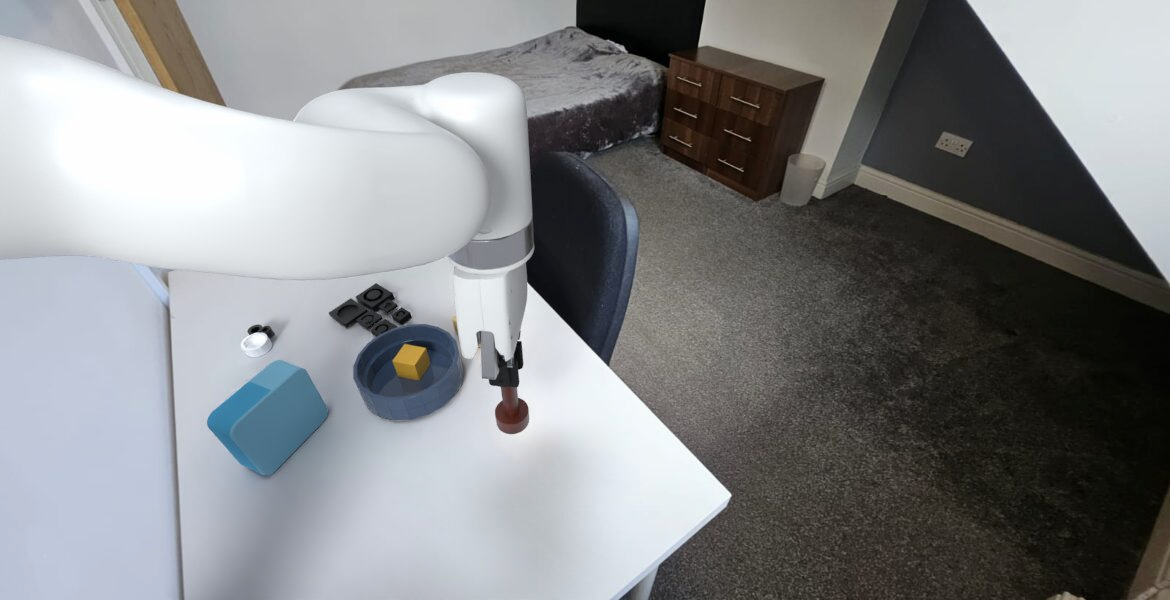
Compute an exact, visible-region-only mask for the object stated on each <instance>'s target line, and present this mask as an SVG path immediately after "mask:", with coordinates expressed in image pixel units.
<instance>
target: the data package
mask: <svg viewBox="0 0 1170 600" xmlns="http://www.w3.org/2000/svg"><path fill="white" fill-rule="evenodd" d="M309 374H310V373H308V371H307V369H305V368H303V367H300V366H298V365H295V364H293V363H290V362H288V361H286V360H282V359H277V360H274V361H271V362H270V363H269V364H268V365H267V366H265V367H264V368H263V369H262V370H260V372H258V373H257V374H256V375H254V377H252V378H251V379H250V380H249V381H247V382H246V383H245V384H244V385H242V387H239V389H238V390H236V392H234V393H233V394H231V396H229V397H228V398H226V399H225V401H223V402H222V403H221V404H219V406H216V408H215V409H214V410H213V411H211V413H210V414H209V415H208V417H207V420H206V425H207V428H208V429H209V430H210V431H211V433H212V434H213V435H214V436H215V437H216V438H217V440H218V441H219V442H220V444H222V445H223V446H224V447H225V449H227V451H228V452H229V453H230V455H232V456H233V457H234V459H235V460H236V461H237V462H238V463H239V465H241V466H243V467H245V468H247V469H249V470H252V471H254V472H255V473H258V474H260V475H262V476H270V475H272V474H274V473H275V472H276V471H277V470H278V469H280V467H281V466H282V465H284V464H285V462H286V461H287V460H288V459H289V458H290V457H291V456H292V455H293V454H294V453H295V452H296V451H297V450H298V449H299V448H300V447H301V446H302V444H303V443H305V442H306V440H308V438H309V437H311V435H313V433H314V432H315V431H316V430H317V429H318V428H319V427H320V426H321V425H322V424H323V423H324V422H325V420H326V419H327V418H328V414H329V409H328V406H327V405H326V403H325V401H324V399H323V397H322V395H321V394H320V392H319V390H318V388H317V387H316V385H315V384H314V381H313V380H312V378H311V376H310V375H309Z"/></svg>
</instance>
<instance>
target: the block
mask: <svg viewBox="0 0 1170 600" xmlns="http://www.w3.org/2000/svg"><path fill="white" fill-rule="evenodd" d="M393 364H394V367H395V369H396V372H397V375H398V377H403V378H408V379H413V380H418V381H420V380H421V378H422V376H423V375H424V373H425V372H426V370H427V368H428V367H429V365H430V360H429V356H428V353H427V350H426V348H423V347H418V346H413V345H408V344H404V345H403V347H402V348H401V350H400V351H399V352H398V354H397V355H396V357H395V358H394V359H393Z"/></svg>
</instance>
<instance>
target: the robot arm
mask: <svg viewBox="0 0 1170 600" xmlns="http://www.w3.org/2000/svg"><path fill="white" fill-rule="evenodd" d="M527 109H528V108H527V101H526V97H525V95H524V93H523V90H522V89H521V88H520V86H519V84H517V83H516V82H515V81H513V80H511V78H508V77H506V76H503V75H500V74H496V73H489V72H481V71H480V72H479V71H467V72H466V71H465V72H455V73H450V74H445V75H442V76H438V77H436V78H434V79H432V80H430V81H428V82H427V83H424V84H416V85H402V86H400V85H399V86H385V87H384V86H383V87H382V86H381V87H380V86H379V87H354V88H353V87H352V88H344V89H338V90H334V91H333V90H332V91H330V92H327V93H323V94H321V95H319V96H316V97H315V98H313V99H312V100H310V101H309V102H308V103H306V104H305V105H304V106H303V107H301V109H300V110H299V112H297V114H296V115H295V117H294V119H293V120H289V119H283V118H278V117H272V116H268V115H263V114H259V113H255V112H250V111H245V110H241V109H236V108H233V107H228V106H225V105H221V104H218V103H217V104H216V103H213V102H210V101H205V100H202V99H199V98H195V97H192V96H190V95H185V94H183V93H180V92H176V91H173V90H171V89H168V88H165V87H163V86H159V85H156V84H154V83H151V82H149V81H146V80H143V79H141V78H139V77H136V76H134V75H131V74H128V73H126V72H124V71H121V70H119V69H115V68H113V67H110V66H108V65H106V64H103V63H101V62H98V61H96V60H92V59H90V58H87V57H84V56H82V55H79V54H75V53H72V52H68V51H65V50H63V49H59V48H57V47H51V46H48V45H45V44H41V43H37V42H33V41H29V40H26V39H21V38H16V37H13V36H8V35H1V34H0V261H4V260H18V259H19V260H20V259H34V258H47V257H89V258H98V259H104V260H111V261H115V262H122V263H127V264H133V265H136V266H143V267H150V268H157V269H164V270H165V269H166V270H173V271H183V272H193V273H203V274H212V275H213V274H214V275H221V276H228V277H229V276H230V277H239V278H249V279H260V280H277V281H322V280H323V281H325V280H334V279H347V278H353V277H354V278H355V277H360V276H361V277H362V276H367V275H374V274H379V273H380V274H381V273H387V272H394V271H401V270H406V269H410V268H414V267H419V266H425V265H427V264H431V263H433V262H436V261H439V260H442V259H445V258H447V260H448V261H449V263H450V264H451V265H452V266H453V272H452V275H453V277H452V282H453V283H452V285H453V287H452V288H453V302H454V314H455V316H456V321H457V328H458V333H457V334H458V335H457V336H458V341H459V347H460V352H461V353H460V354H461V355H462V357H463V359H465V360H474V358H475V355H476V353H477V350H478V348H479V347H478V346H479V344H481V348H480V362H481V363H480V365H481V366H480V367H481V379H482V380H483V379H484V380H488V383H489V385H490V386H493V387H499V388H501V387H517V388H518V387H519V386H520V372H519V370H522V369H523V368H524V354H523V344H522V343H523V342H522V340H521V328H522V325H523V321H524V315H525V312H526V307H527V302H528V273H527V272H528V271H527V262H528V261H529V260H530V259H531V258H532V256H533V254H534V251H535V237H534V234H535V233H534V216H533V214H534V213H533V198H532V180H531V162H530V161H531V160H530V159H531V158H530V145H529V144H530V143H529V142H530V141H529V125H528V123H529V122H528V110H527ZM497 351H498V352H499V353H500V354H501V355H500V354H497Z"/></svg>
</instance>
